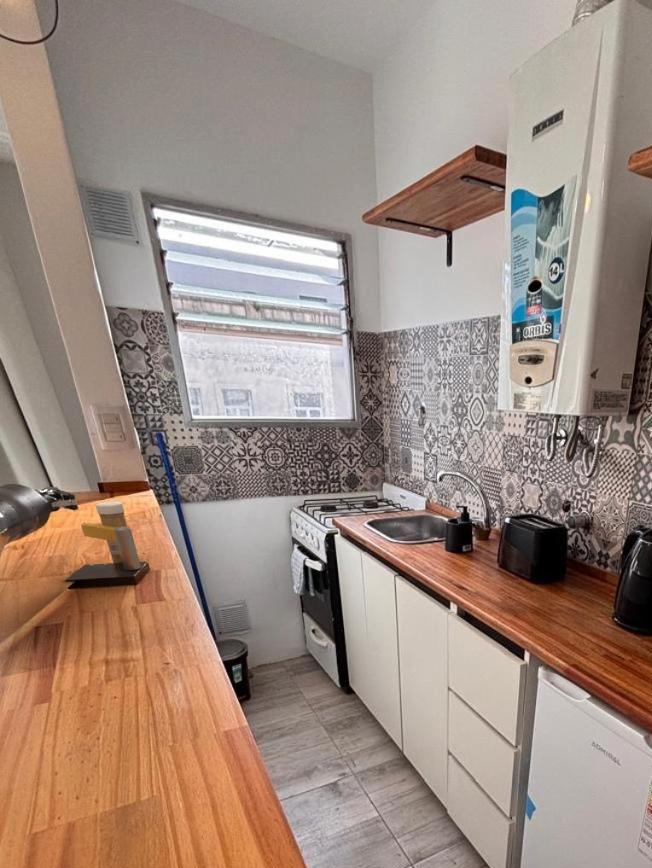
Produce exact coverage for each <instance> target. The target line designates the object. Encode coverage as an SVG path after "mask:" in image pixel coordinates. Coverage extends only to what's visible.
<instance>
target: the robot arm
mask: <svg viewBox="0 0 652 868" xmlns="http://www.w3.org/2000/svg"><path fill="white" fill-rule="evenodd" d="M61 507H62V508H63V509H64V510H71V511H77V510H79V506H78V503H77V499H76V495H75V494H74V493H72V492H69V491H65V490H61V489H59V488H58V486H46V487H45V488H42V489H33V488H31V487H28V486H26V485H23V484H17V483H7V484H4V485H1V486H0V557H1V555H2V553H3V551H4V549H5V547H6V546H7V545H9V544H11V543H12V542H17V541H20V540H21V539H23V538H25V537H27V536H29V535H32V534H33V533H35V532H37V531H38V530H40V529H42V528H43V527H44V526H46V524H47V523H48V522H49V519H50V516H51V513H54V512H55V513H56V512H57V511H59V510H60V509H61Z"/></svg>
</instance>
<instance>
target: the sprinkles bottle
mask: <svg viewBox="0 0 652 868" xmlns="http://www.w3.org/2000/svg"><path fill="white" fill-rule="evenodd" d="M95 508H96V512H97V514H98V516H99V518H100V521H101V522H100V523H101V525H104V526H110V527H116V528H118V527H128V523H127V521H126V517H125V508H124V505H123V502H121V501H104V502H98V503H96V504H95ZM106 544H107V547H108V550H109V553H110V556H111V559H112V563H123V562H122V558H121V554H120V551H119V547H118V544H117V542H115V541H109V540H106Z"/></svg>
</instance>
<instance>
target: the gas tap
mask: <svg viewBox="0 0 652 868" xmlns="http://www.w3.org/2000/svg"><path fill="white" fill-rule="evenodd" d="M80 526H81V530H82V532H83V537H88V538H93V539H98V540H103V541H107V540H109V541H115V542H117V544H118V547H119V551H120V554H121V558H122V562H123V565H124V569H125V570H137V569H140V568H141V565H140V562H141V561H140V558H139V554H138V551H137V547H136V543H135V539H134V536H133V532H132V528H131V527H130V526H127V527H118V528H116V527H110V526H104V525H102V524H98V523H97V524H96V523H91V522H87V523H86V522H85V523H82V524H80Z"/></svg>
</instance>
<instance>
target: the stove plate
mask: <svg viewBox="0 0 652 868" xmlns="http://www.w3.org/2000/svg"><path fill="white" fill-rule="evenodd" d="M139 562H140V565H141V568H140V569H137V570H125V569H124V565H123V563H113V562H110V563H109V562H108V563H92V564H91V563H90V564H83V565H82V566H81V567H80V568H78V569H77V570H76V571H75V572H74V573H72V574H71V575H70V576H68V577H67V578H66V579H65V580H64V582H66V583H68V582H73V583H71V584H70V585H69V586H67V589H68V590H76V589H91V588H105V587H106V588H107V587H123V586H136V585H138V584H139V583H140V582H141V581H142V580H143V578H144V577H145V576H146V575H147V573H149V571H150V570H151V567H150V564H149V561H148V560H146V561H145V560H144V561H139Z"/></svg>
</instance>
